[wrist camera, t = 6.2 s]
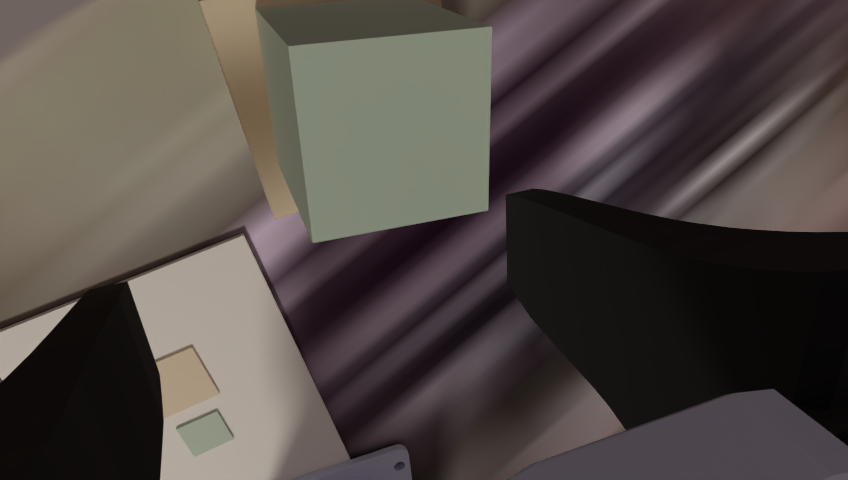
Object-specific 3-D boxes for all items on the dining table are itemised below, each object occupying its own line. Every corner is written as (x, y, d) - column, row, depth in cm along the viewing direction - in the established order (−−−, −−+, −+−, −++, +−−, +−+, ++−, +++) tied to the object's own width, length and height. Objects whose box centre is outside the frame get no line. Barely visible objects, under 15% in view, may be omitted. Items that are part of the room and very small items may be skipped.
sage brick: (415, 141, 19) (488, 210, 14) (277, 162, 17) (312, 243, 13) (410, -5, 17) (492, 26, 13) (255, 8, 16) (288, 46, 11)
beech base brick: (422, 121, 23) (466, 156, 19) (257, 172, 22) (274, 219, 18) (386, -61, 20) (432, -56, 16) (192, -15, 18) (198, 1, 15)
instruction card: (349, 457, 28) (351, 462, 28) (149, 552, 27) (149, 559, 26) (242, 232, 22) (244, 236, 22) (-27, 340, 20) (-29, 344, 20)
